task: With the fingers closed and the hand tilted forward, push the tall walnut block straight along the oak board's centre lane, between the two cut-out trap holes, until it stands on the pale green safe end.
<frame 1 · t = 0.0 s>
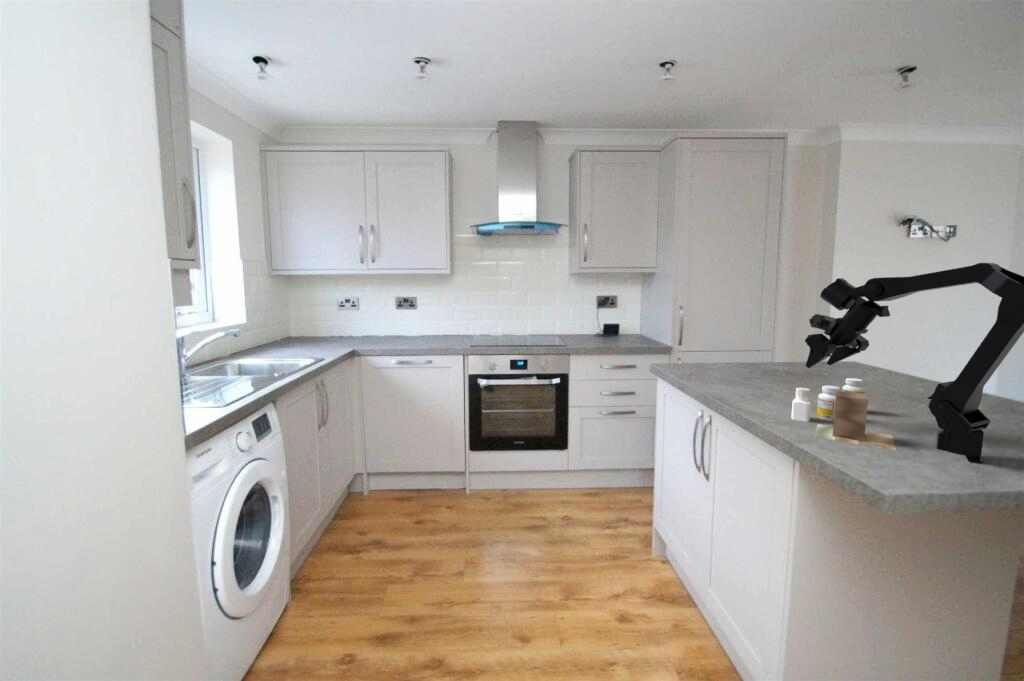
hand: (817, 365, 125), 15 cm above the countertop, tool tilted 35°, fingers open, 9 cm apart
walnut block: (848, 435, 108), point 1 cm above the countertop, touching trap board
supplement bottle: (828, 422, 123), on the countertop
trap board: (852, 440, 108), on the countertop
supplement bottle 2: (851, 411, 132), on the countertop
white square pill bottle: (800, 423, 122), on the countertop
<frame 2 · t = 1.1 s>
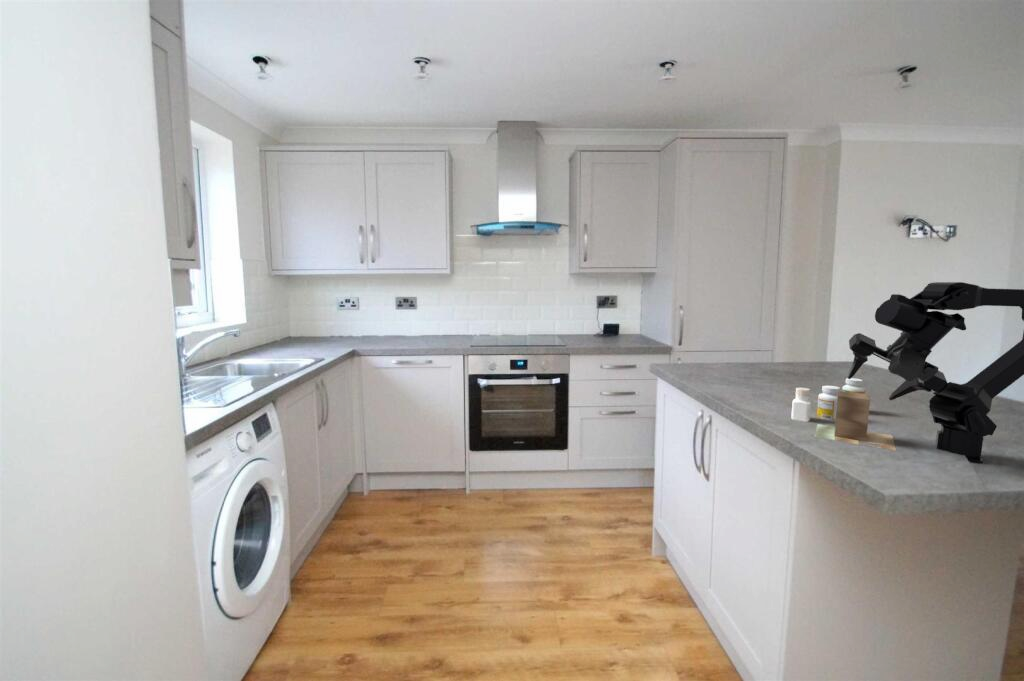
hand: (868, 388, 105), 13 cm above the countertop, tool tilted 35°, fingers open, 9 cm apart
nothing on the countertop moved.
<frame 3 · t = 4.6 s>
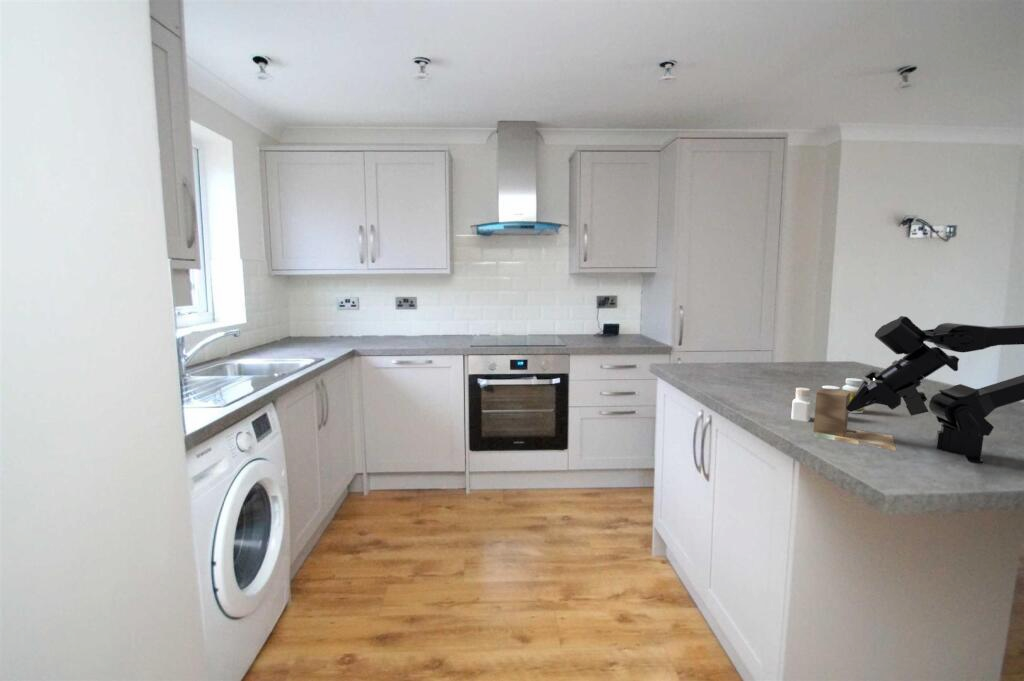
hand: (848, 410, 107), 8 cm above the countertop, tool tilted 45°, fingers closed
walnut block: (830, 431, 111), point 1 cm above the countertop
everything else where it was.
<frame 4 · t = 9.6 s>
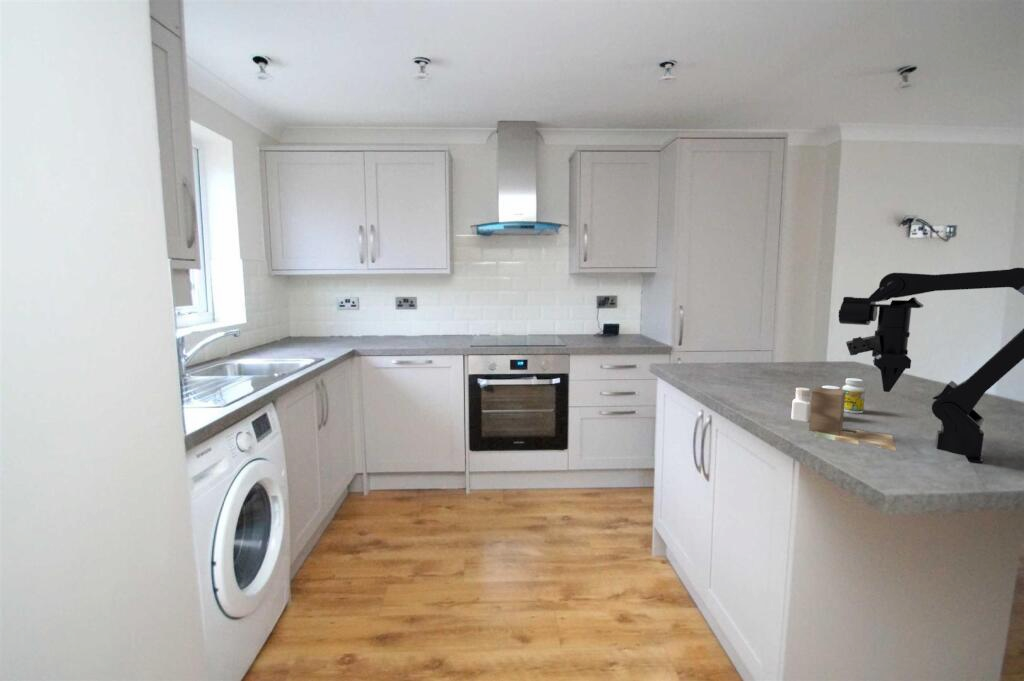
hand: (886, 391, 107), 12 cm above the countertop, tool pointing down, fingers closed
walnut block: (825, 429, 112), point 1 cm above the countertop, touching trap board
everything else where it was.
at the end: walnut block 1.8 cm from the target spot, point 1.2 cm above the countertop; walnut block tilted 0°; walnut block moved 4.8 cm from its start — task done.
